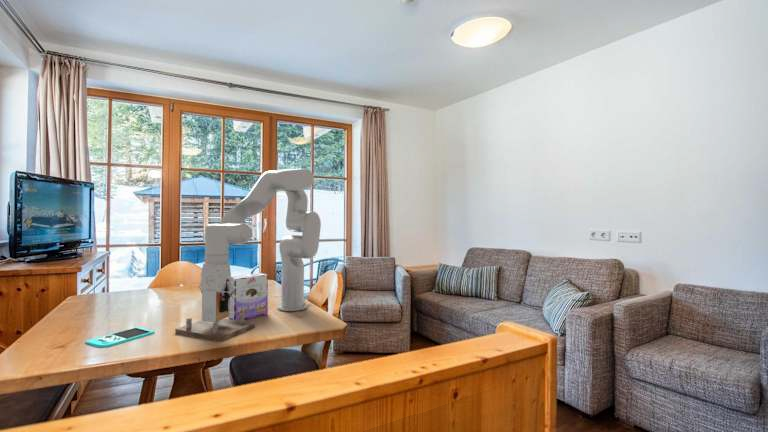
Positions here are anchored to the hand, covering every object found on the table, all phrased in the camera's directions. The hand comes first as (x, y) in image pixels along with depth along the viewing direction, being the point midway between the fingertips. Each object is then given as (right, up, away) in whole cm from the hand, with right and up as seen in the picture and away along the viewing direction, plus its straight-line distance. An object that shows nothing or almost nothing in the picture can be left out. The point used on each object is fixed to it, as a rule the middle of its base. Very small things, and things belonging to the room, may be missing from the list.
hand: (216, 309), depth 129 cm
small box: (0, -3, 0) cm, 3 cm away
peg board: (0, -7, 0) cm, 7 cm away
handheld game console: (-27, -8, -9) cm, 30 cm away
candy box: (+5, -7, +18) cm, 20 cm away
